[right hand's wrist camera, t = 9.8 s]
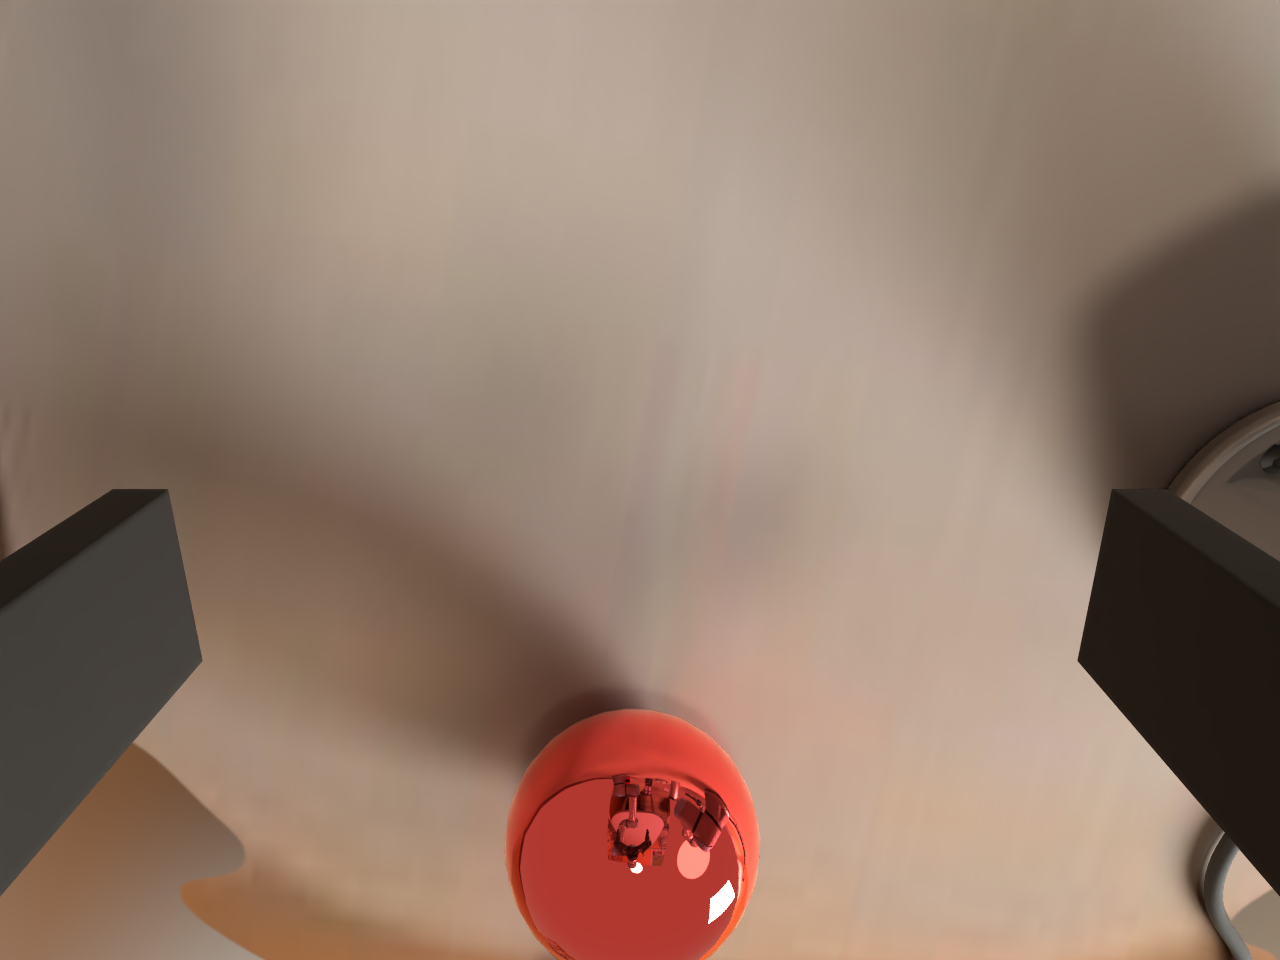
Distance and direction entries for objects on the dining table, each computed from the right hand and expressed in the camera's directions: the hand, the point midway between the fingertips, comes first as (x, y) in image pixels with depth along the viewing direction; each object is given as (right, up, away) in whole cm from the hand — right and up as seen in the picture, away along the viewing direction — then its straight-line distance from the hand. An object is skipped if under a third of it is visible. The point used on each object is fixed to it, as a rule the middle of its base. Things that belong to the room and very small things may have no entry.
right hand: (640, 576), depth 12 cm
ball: (0, -13, +35) cm, 37 cm away
